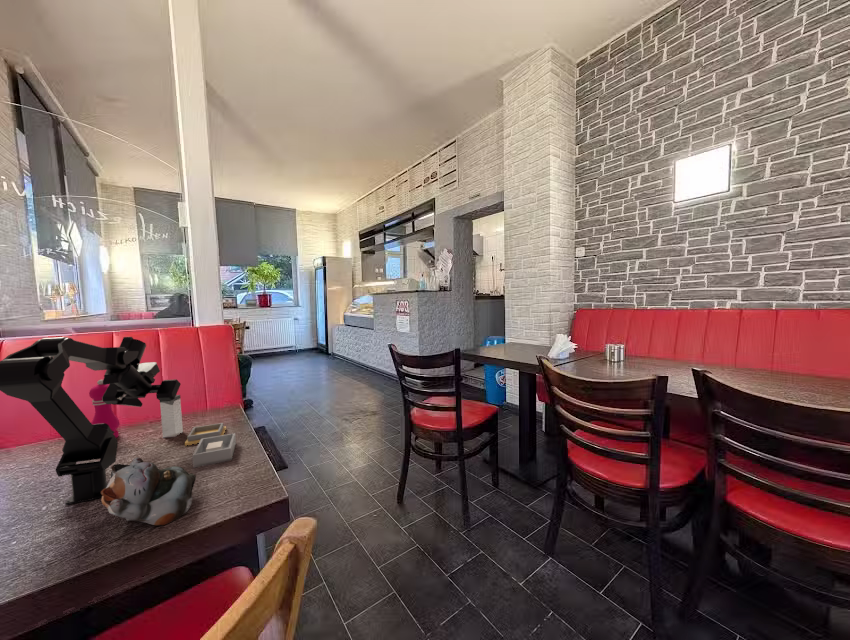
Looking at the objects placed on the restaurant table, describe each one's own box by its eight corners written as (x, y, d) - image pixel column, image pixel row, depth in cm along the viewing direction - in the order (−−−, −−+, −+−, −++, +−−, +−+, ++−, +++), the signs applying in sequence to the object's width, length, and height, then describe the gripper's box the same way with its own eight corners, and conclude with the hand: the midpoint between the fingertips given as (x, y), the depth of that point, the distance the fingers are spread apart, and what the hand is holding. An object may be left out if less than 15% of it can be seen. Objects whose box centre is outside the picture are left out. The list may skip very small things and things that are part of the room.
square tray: (222, 439, 109) (221, 431, 109) (185, 445, 105) (184, 437, 105) (226, 429, 118) (225, 421, 118) (192, 434, 114) (191, 426, 114)
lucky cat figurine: (187, 523, 68) (139, 480, 61) (124, 556, 65) (68, 515, 59) (204, 469, 81) (166, 428, 75) (153, 495, 79) (109, 456, 72)
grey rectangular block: (175, 436, 112) (172, 398, 112) (162, 437, 112) (159, 399, 111) (183, 431, 116) (180, 394, 116) (170, 432, 116) (167, 395, 115)
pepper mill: (117, 432, 117) (112, 376, 116) (123, 437, 113) (118, 378, 112) (88, 440, 112) (83, 380, 110) (93, 445, 107) (87, 383, 106)
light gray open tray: (231, 460, 94) (230, 447, 94) (193, 467, 91) (192, 454, 90) (236, 443, 105) (235, 432, 105) (202, 450, 101) (201, 438, 101)
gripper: (174, 353, 102) (197, 380, 113) (106, 356, 99) (136, 384, 111) (159, 386, 94) (185, 411, 106) (85, 390, 92) (120, 415, 104)
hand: (157, 404), depth 107 cm, fingers open, 9 cm apart
